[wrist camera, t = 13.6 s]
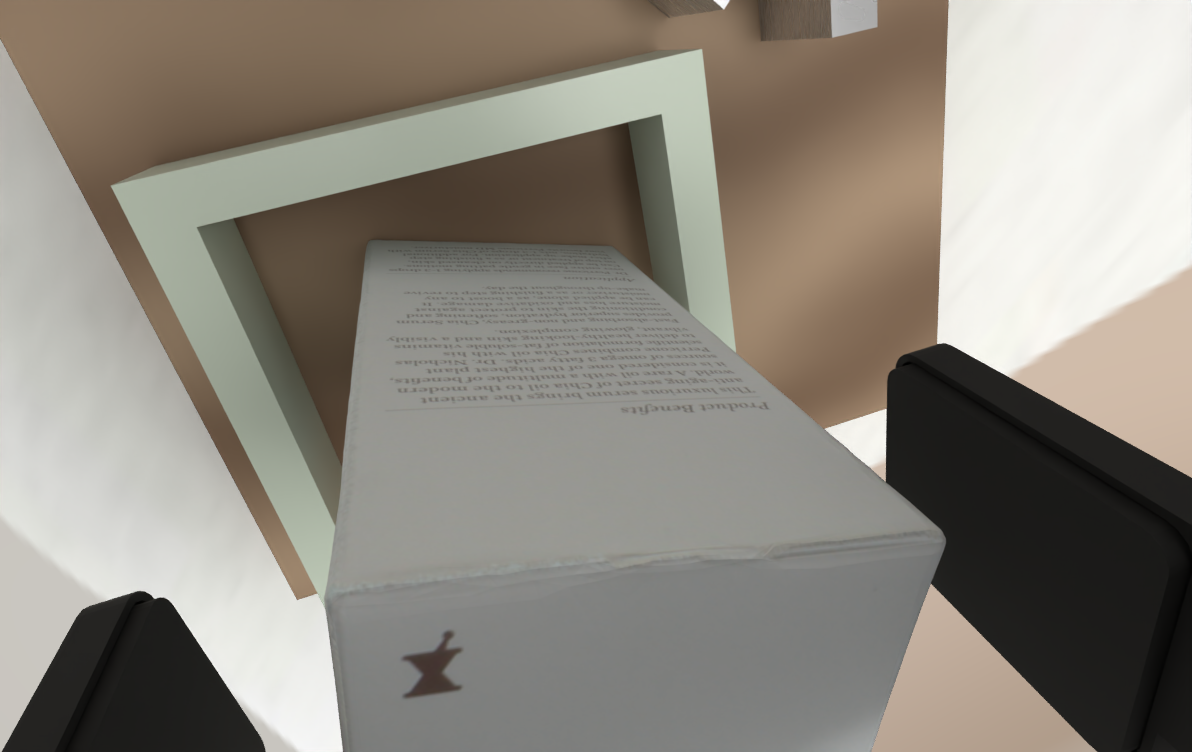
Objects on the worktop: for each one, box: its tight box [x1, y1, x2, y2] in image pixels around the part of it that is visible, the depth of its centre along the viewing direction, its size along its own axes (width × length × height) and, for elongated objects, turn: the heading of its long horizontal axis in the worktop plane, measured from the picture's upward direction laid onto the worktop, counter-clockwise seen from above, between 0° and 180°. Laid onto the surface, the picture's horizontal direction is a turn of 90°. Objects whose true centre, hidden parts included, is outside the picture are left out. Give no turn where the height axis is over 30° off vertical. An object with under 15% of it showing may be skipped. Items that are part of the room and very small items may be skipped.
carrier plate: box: [0, 0, 948, 600], centre depth 17 cm, size 20×20×2 cm
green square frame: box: [111, 49, 736, 607], centre depth 16 cm, size 11×11×2 cm
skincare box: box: [324, 240, 946, 752], centre depth 12 cm, size 6×4×12 cm
